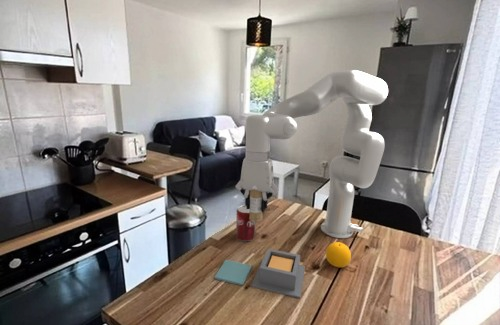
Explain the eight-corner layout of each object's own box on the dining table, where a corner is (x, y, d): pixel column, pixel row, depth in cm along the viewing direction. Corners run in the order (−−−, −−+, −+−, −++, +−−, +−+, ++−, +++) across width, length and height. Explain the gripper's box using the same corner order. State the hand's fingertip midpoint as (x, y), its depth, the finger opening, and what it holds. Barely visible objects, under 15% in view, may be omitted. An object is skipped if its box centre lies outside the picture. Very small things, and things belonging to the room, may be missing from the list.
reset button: (293, 264, 83) (293, 259, 83) (289, 278, 77) (290, 273, 77) (271, 259, 85) (272, 255, 85) (267, 273, 79) (267, 268, 78)
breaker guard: (305, 267, 86) (306, 252, 85) (300, 298, 73) (301, 281, 72) (263, 258, 90) (264, 244, 89) (251, 286, 77) (252, 270, 76)
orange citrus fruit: (350, 260, 91) (353, 241, 89) (348, 274, 84) (351, 253, 82) (326, 254, 94) (329, 235, 92) (322, 266, 87) (325, 246, 85)
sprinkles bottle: (258, 215, 92) (259, 178, 88) (265, 220, 88) (266, 182, 84) (246, 217, 90) (247, 180, 86) (252, 223, 86) (253, 184, 82)
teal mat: (251, 267, 86) (251, 265, 86) (242, 285, 78) (242, 283, 77) (225, 261, 88) (225, 259, 88) (214, 278, 80) (214, 276, 80)
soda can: (255, 233, 106) (256, 205, 103) (253, 243, 99) (255, 213, 96) (237, 231, 107) (238, 204, 104) (234, 241, 100) (235, 212, 97)
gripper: (286, 155, 84) (283, 208, 89) (236, 150, 89) (236, 201, 94) (282, 161, 77) (279, 218, 82) (227, 156, 82) (228, 210, 87)
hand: (256, 208), depth 88 cm, fingers closed on sprinkles bottle, 4 cm apart
